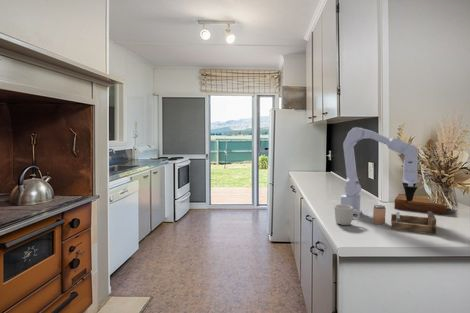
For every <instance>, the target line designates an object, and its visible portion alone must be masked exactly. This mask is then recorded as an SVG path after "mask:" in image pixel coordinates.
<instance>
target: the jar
mask: <svg viewBox="0 0 470 313" xmlns="http://www.w3.org/2000/svg"><path fill="white" fill-rule="evenodd" d="M386 209H387V208H386V206H385V205H381V204H374V205H373V209H372V210H373V211H372V212H373V213H372V214H373V215H372V222H373V224H375V225H385V224H386Z"/></svg>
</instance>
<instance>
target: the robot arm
mask: <svg viewBox="0 0 470 313" xmlns="http://www.w3.org/2000/svg"><path fill="white" fill-rule="evenodd" d="M363 139H371V140H374V141H376V142H379V143H382V144H383V145H384V144H385V145H386V146H387V149H388V150H391V151H393V152H395V153H397V154H400V155H402V154H403V157H404V158H403V159H404V160H403V165H402V166H403V169H402V171H403V172H402V180H401V181H402V188H403V189H404V194H405V195H406V199H407V201H412V200H413V196H414V195H415V193H416V191H417V190H418V186H416V185H417V183H420V182H421V181H420V180H419V179H418V166H419V165H418V163H419V161H418V160H419V158H418V155H419V148H418V147H417V146H415V144H410V142H406V141H402V140H401V139H400V138H399V137H392V138H389V137H387V136H384V135H383V134H379V133H377V132H375V131H373V130H370V129H366V128H363V127H357V126H355V127H352V128H351V129H350V130H349V131H348V132H347V135H346V137H345V139H344V140H343V144H342V147H343V156H344V165H345V174H346V180H345V186H344V187H345V188H344V192H345V194H341V196H340V205H348V206H352V207H353V209H354V210H357V211H359V213H360V214H362V210H361V194H360V192H361V190H362V186H361V183H360V182H359V178H358V173H357V164H356V157H355V145H356V144H358V142H360V141H362V140H363ZM353 215H358V214H357V212H354V213H353Z"/></svg>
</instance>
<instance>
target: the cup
mask: <svg viewBox="0 0 470 313" xmlns="http://www.w3.org/2000/svg"><path fill="white" fill-rule="evenodd" d="M354 212H357V214H356V215H357V216H356V217H354V214H353V213H354ZM334 215H335V216H334V217H335V218H334V219H335V223H336V224H337V223H338V224H337V225H339V224H341V225H340V226H349V225H351V223H352V222H353V221H358V220H359V219H360V216H361V213H359V211H357V210H354V209H353V207H352V206H348V205H341V204H336V205H334Z"/></svg>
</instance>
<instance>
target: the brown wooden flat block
mask: <svg viewBox="0 0 470 313" xmlns="http://www.w3.org/2000/svg"><path fill="white" fill-rule="evenodd" d="M427 197H428V196H427V195H426V196H425V195H417V194H416V195H415V194H414V196H413V200H412V201H407V199H406V195H405V193H398V194H397V196H396V197H395V198H394V209H395V210H402V209H403V211H410V212H411V211H412V212H418V211H419V212H420V213H426V212H428V211H432V213H433V214H434V213H437V214H436V215H442V214H445V215H444V216H446V214H447V205H446V206H445V205H444V204H439V203H434V202H431V201H429V200H428V199H427Z"/></svg>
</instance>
